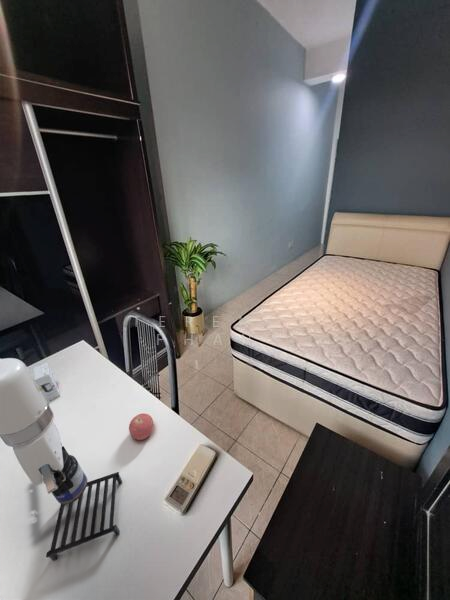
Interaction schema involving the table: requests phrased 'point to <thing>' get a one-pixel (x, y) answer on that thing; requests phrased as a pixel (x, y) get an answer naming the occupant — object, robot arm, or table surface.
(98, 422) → the table surface
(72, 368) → the table surface
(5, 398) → the robot arm
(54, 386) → the ink box
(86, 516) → the wire rack
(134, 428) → the apple
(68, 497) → the pill bottle
